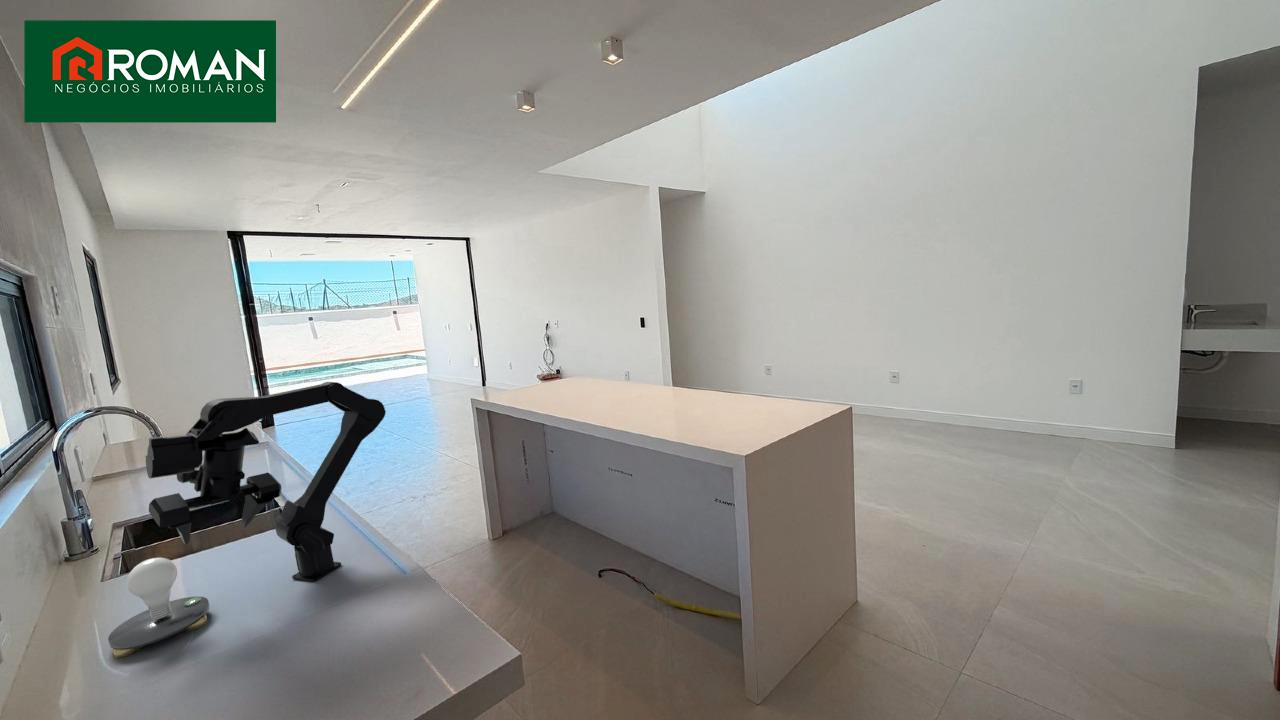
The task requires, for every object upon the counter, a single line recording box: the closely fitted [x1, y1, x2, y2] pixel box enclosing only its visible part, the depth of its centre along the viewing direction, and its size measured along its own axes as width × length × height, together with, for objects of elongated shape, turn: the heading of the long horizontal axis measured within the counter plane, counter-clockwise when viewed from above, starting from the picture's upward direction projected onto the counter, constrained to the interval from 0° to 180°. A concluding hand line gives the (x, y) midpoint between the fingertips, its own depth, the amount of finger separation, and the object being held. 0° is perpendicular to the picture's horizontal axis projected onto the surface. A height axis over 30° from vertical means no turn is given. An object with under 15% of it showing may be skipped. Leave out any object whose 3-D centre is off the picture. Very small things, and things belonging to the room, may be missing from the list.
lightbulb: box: [126, 557, 178, 620], centre depth 89 cm, size 6×6×11 cm
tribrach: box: [107, 596, 210, 659], centre depth 90 cm, size 13×13×3 cm
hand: (215, 534), depth 98 cm, fingers open, 9 cm apart
